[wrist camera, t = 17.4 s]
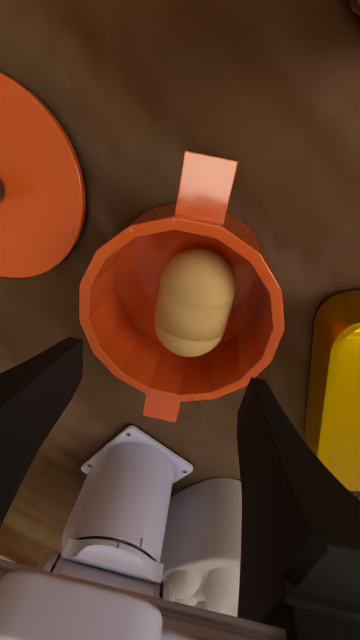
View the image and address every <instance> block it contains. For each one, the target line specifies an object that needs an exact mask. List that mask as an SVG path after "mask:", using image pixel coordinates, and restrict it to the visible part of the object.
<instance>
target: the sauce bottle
mask: <svg viewBox="0 0 360 640" xmlns="http://www.w3.org/2000/svg"><path fill="white" fill-rule="evenodd" d="M349 2H350V5H351V9H352V11H353V12H355V13H356V14H357V15H358V16H359V17H360V0H349Z"/></svg>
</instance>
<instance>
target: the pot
mask: <svg viewBox="0 0 360 640" xmlns="http://www.w3.org/2000/svg"><path fill="white" fill-rule="evenodd" d="M237 166H238V161H237V160H233V159H228V158H223V157H219V156H214V155H209V154H204V153H199V152H194V151H189V150H186V151H185V152H184V158H183V165H182V171H181V177H180V183H179V190H178V196H177V202H176V203H171V204H167V205H163V206H160V207H156V208H152V209H150V210H148V211H147V212H146V213H144V214H143V215H142V216H140V217H139V218H138V219H136V220H135V221H134V222H132V223H131V224H130V225H128V226H127V227H126V228H124V229H123V230H122V231H121V232H119V233H118V234H117V235H115V236H114V237H113V238H112V239H110V240H109V241H108V242H107V243H105V244H104V245H103V246H101V247H100V248H99V249H98V250H97V251H96V252H95V254H94V256H93V258H92V260H91V262H90V264H89V266H88V268H87V270H86V272H85V274H84V276H83V278H82V280H81V282H80V285H79V320H80V323H81V326H82V328H83V330H84V333H85V335H86V338H87V340H88V342H89V345H90V347H91V350H92V351H93V353H94V354H95V355H96V356H97V357H98V359H99V360H100V361H101V362H102V363H103V364H104V365H105V366H106V367H107V368H108V369H109V370H110V372H111V373H112V374H113V375H114V376H115V377H117V378H118V379H120V380H122V381H124V382H125V383H127V384H129V385H131V386H133V387H134V388H136V389H138V390H140V391H141V392H143V393H145V394H146V397H145V403H144V409H143V415H144V416H148V417H153V418H157V419H162V420H166V421H170V422H176V420H177V416H178V411H179V407H180V403H181V402H184V401H197V400H211V399H216V398H219V397H221V396H223V395H226V394H228V393H230V392H233V391H235V390H238V389H240V388H242V387H245V386H246V385H248V384H249V381H250V379H251V377H253V378H255V377H256V376H257V375H258V374H259V373H260V372H261V371H262V370H263V369H264V368H266V367H267V366H268V365H269V364H270V363H271V361H272V359H273V357H274V354H275V352H276V349H277V347H278V344H279V342H280V339H281V337H282V334H283V332H284V328H285V325H284V311H283V298H282V290H281V287H280V285H279V282H278V279H277V277H276V274H275V272H274V269H273V267H272V264H271V262H270V259H269V257H268V255H267V254H266V252H265V250H264V249H263V247H262V245H261V243H260V241H259V240H258V238H257V236H256V235H255V233H254V231H253V230H252V229H251V228H250V227H248V226H247V225H246V224H244V223H243V222H242V221H241V220H240V219H238V218H237V217H235V216H234V215H232V214H231V213H229V212H227V207H228V203H229V199H230V195H231V191H232V187H233V182H234V178H235V174H236V170H237ZM193 248H202V249H208V250H211V251H214V252H216V253H217V254H219V255H220V256H222V257H223V258H224V259H225V260H226V261H227V262H228V264H229V265H230V267H231V269H232V271H233V273H234V276H235V281H236V292H235V297H234V301H233V304H232V308H231V311H230V314H229V318H228V321H227V325H226V328H225V331H224V334H223V336H222V338H221V340H220V341H219V343H218V344H217V345H216V346H215V347H214V348H213V349H212V350H211V351H209V352H207V353H205V354H203V355H200V356H195V357H184V356H180V355H177V354H175V353H173V352H171V351H170V350H168V349H167V348H166V347H165V346H164V345H163V344H162V343H161V341H160V340H159V338H158V336H157V334H156V331H155V326H154V315H155V308H156V302H157V295H158V289H159V282H160V278H161V274H162V272H163V270H164V268H165V266H166V264H167V263H168V262H169V261H170V260H171V259H172V258H173V257H174V256H176V255H177V254H178V253H180V252H182V251H185V250H188V249H193Z"/></svg>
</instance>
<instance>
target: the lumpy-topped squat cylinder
mask: <svg viewBox="0 0 360 640" xmlns="http://www.w3.org/2000/svg"><path fill="white" fill-rule="evenodd" d="M241 526H242V490H241V482H240V481H238V480H235V479H231V478H213V479H209V480H205V481H203V482H200V483H198V484H195V485H193V486H190V487H188V488H186V489H184V490H182V491H180V492H179V493H177V494H175V495H174V496H172V497H171V498H170V502H169V508H168V515H167V521H166V527H165V533H164V540H163V546H162V552H161V558H160V563H162V564H163V565H164V566H163V572H162V579H161V580H164V581H168V582H169V583H170V586H171V589H172V591H173V593H174V597H175V602H177V603H181V604H185V605H190V606H194V607H198V608H202V609H206V610H210V611H214V612H218V613H222V614H226V615H230V616H235V617H237V614H238V597H239V580H240V558H241Z"/></svg>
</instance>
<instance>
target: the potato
mask: <svg viewBox="0 0 360 640" xmlns="http://www.w3.org/2000/svg"><path fill="white" fill-rule="evenodd" d="M235 292H236V281H235V276H234V273H233V271H232V269H231V267H230V265H229V264H228V262H227V261H226V260H225V259H224V258H223V257H222V256H220V255H219V254H217V253H216V252H214V251H211V250H208V249H202V248H193V249H188V250H185V251H182V252H180V253H178V254H177V255H176V256H174V257H173V258H172V259H171V260H170V261H169V262H168V263H167V264H166V266H165V268H164V270H163V272H162V274H161V278H160V282H159V289H158V295H157V302H156V308H155V315H154V326H155V331H156V334H157V336H158V338H159V340H160V341H161V343H162V344H163V345H164V346H165V347H166V348H167V349H168V350H170V351H171V352H173V353H175V354H177V355H180V356H184V357H195V356H200V355H203V354H205V353H207V352H209V351H211V350H212V349H213V348H214V347H215V346H216V345H217V344H218V343H219V341H220V340H221V338H222V336H223V334H224V331H225V328H226V325H227V321H228V318H229V314H230V311H231V308H232V304H233V301H234V297H235Z"/></svg>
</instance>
